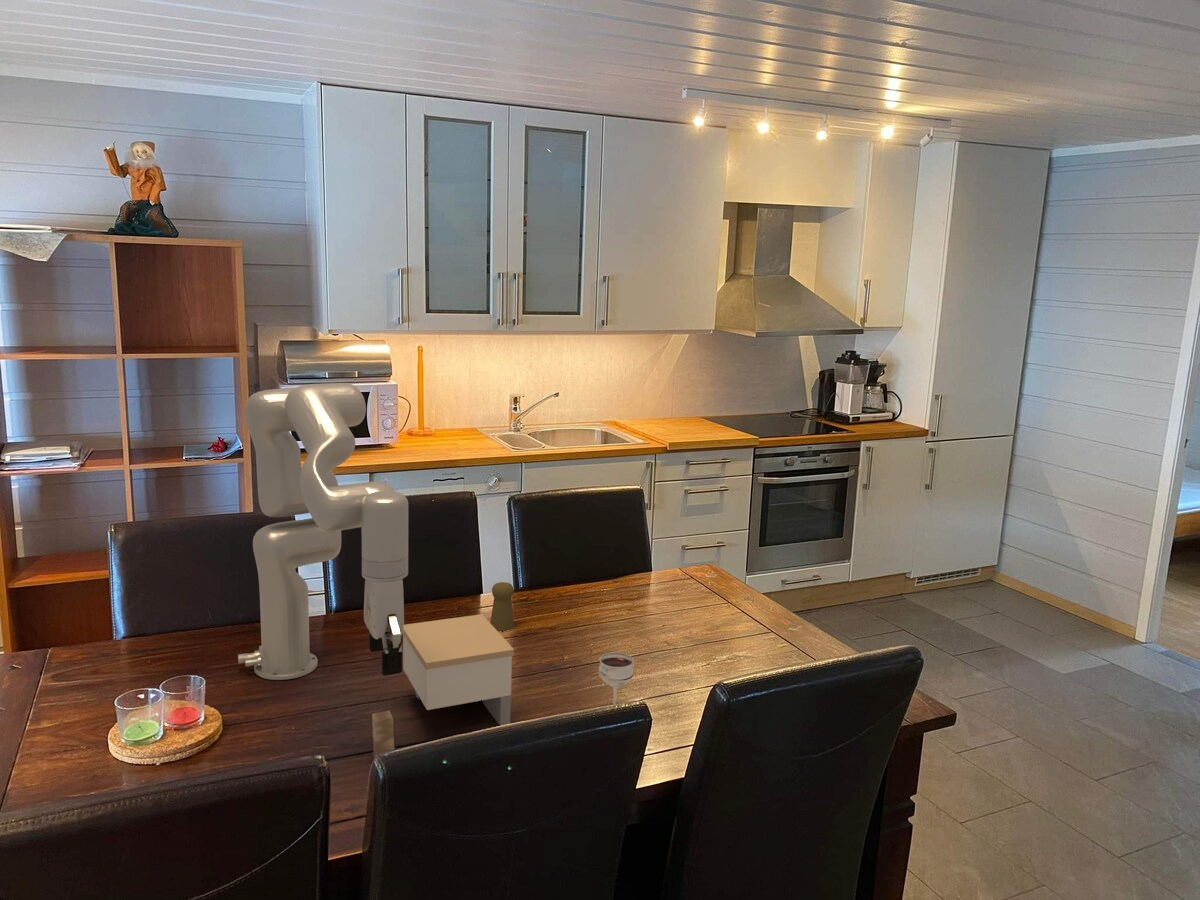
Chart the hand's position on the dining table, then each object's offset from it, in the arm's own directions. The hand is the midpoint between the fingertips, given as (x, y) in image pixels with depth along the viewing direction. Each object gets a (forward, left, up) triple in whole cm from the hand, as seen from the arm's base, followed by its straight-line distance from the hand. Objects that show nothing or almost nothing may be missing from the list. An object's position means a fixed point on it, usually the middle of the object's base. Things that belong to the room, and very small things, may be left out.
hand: (385, 661), depth 149 cm
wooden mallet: (+7, 0, -18) cm, 19 cm away
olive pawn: (+39, +48, -18) cm, 64 cm away
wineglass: (+44, -2, -18) cm, 47 cm away
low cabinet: (+16, +12, -18) cm, 27 cm away
